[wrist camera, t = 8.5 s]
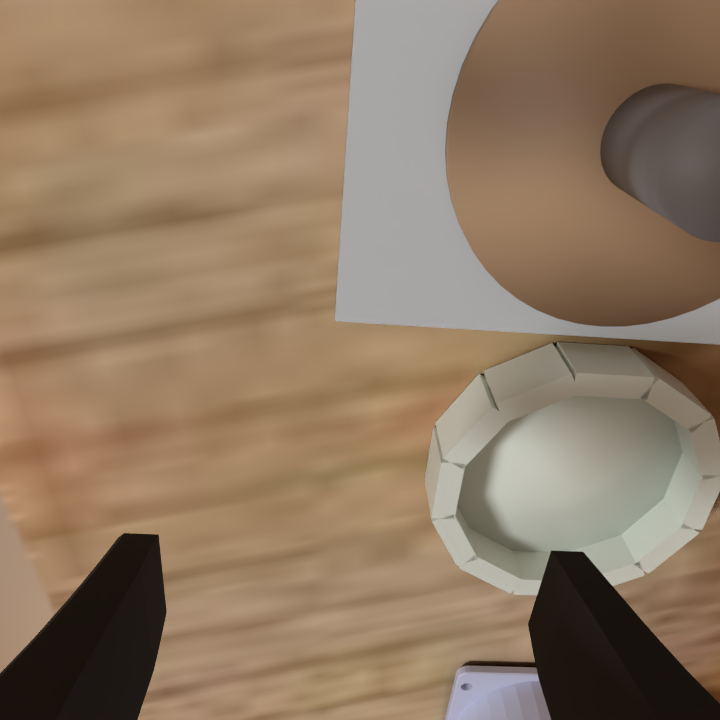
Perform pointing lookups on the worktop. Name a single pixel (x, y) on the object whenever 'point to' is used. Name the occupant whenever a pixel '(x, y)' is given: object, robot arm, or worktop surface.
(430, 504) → the celadon dish
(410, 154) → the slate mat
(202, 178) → the worktop surface
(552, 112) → the walnut lid
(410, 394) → the worktop surface
